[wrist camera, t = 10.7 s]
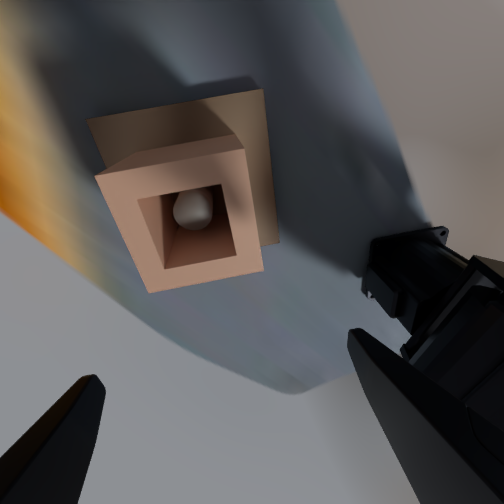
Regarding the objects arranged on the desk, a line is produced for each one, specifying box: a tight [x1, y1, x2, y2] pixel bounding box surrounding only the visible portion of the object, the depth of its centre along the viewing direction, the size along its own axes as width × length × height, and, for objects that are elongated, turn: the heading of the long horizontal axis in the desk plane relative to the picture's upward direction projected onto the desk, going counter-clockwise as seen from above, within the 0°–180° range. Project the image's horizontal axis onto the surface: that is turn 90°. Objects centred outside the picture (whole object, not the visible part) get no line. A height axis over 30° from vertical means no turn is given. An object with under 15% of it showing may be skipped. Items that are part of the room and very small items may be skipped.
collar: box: [95, 134, 264, 293], centre depth 14 cm, size 6×6×6 cm
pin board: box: [85, 89, 280, 246], centre depth 15 cm, size 10×10×5 cm
